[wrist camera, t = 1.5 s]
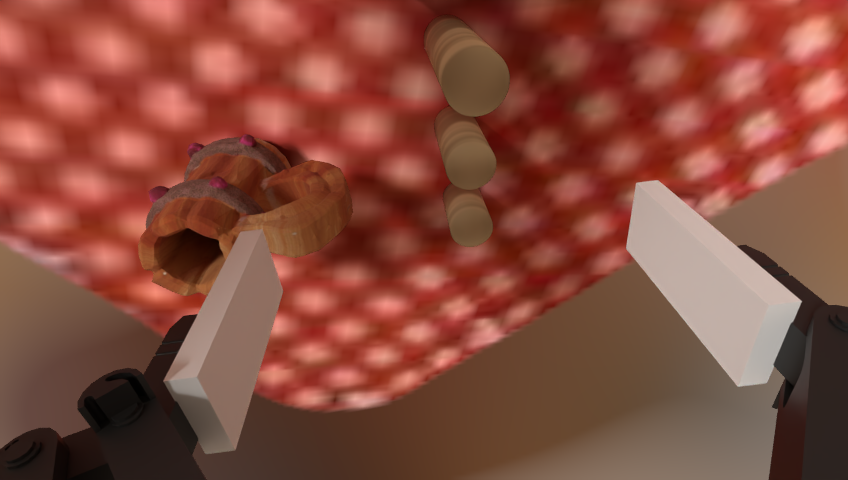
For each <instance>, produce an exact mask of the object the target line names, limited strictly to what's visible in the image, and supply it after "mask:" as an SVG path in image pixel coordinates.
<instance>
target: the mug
mask: <svg viewBox="0 0 848 480" xmlns="http://www.w3.org/2000/svg"><path fill="white" fill-rule="evenodd" d="M187 152H188V155H189V156H190V158H191V160H190V162H189V164H188V166H187V169H186V172H185V180H184V182H182V183H180V184H178V185H175V186H173V187H172V188H170V189H169V188H166V187H163V186H158V187H155V188H153V189H151V190H150V191H149V195H150V200H151V201H152V202H153V205H152V208H151V210H150V212H149V214H148V216H147V220H146V230H145V232H144V233H143V234H142V236H141V238H140V241H139V244H138V249H139V258H140V261H141V264H142V267H143V268H144V269H145V270H151V271H152V272H153V274H154V275H153V280H152V282H153V283H156V284H158V285H160V286H162V287H164V288H166V289H168V290H170V291H172V292H175V293H178V294H180V295H185V296H189V295H192V294H195V293H197V292H200V293H203V294H205V295H207V296H208V294H209V292H210V290H211V288H212V286H213V284H214V282H215V280H216V278H217V276H218V274H219V272H220V270H221V269H222V267H223V265H224V263H225V261H226V259H227V257H228V255H229V253H230V251H231V249H232V247H233V245H234V243H235V241H236V240H237V238H238V236H239V234H240V232H243V231H251V230H259V229H263V232H264V235H265V238H266V241H267V244H268V247H269V250H270V253H275V254H279V255H284V256H287V257H294V258H296V257H300V256H304V255H307V254H310V253H313V252H315V251H319V250H320V249H321V248H322V247H324V246H325V245H326V244H328V243H329V242H330V241H331V240H332V239H333V238H334V237H335V236H336V235H338V234H339V233H340V232H341V231H342V230H343V228H344V227H345V226H346V224H347V223H348V221H349V220H350V218H351V215H352V213H353V209H352V199H351V196H350V192H349V189H348V186H347V182H346V179H345V177H344V175H343V173H342V172H341V170H340V168H338V167H336V166H334V165H331V164H329V163H325V162H320V161H314V160H310V161H307V162H304V163H301V164H299V165H297V166H294V167H292V168H291V166H290V164H289V162H288V160H287V159H286V157H285V156H284V155H283V154H282V153H281V152H280V151H279V150H278V149H277V148H276V147H274V146H273V145H271V144H270V143H268V142H266V141H263V140H261V139H256V138H254V137H252V136H251V135H247V134H245V135H243V136H242V137H237V138H227V139H221V140H218V141H214V142H212V143H211V144H209V145H206V146H203V145H201V144H198V143H193V144H191V145H189V148H188V151H187Z"/></svg>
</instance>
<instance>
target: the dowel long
mask: <svg viewBox="0 0 848 480" xmlns="http://www.w3.org/2000/svg"><path fill="white" fill-rule="evenodd" d="M424 47H425V50H426V52H427V54H428V57H429V59H430V62H431V64H432V66H433V69H434V71H435V74H436V76H437V78H438V81H439V83H440V86H441V88H442V90H443V93H444V95H445V98H446V100H447V102H448V103H449V105H450V106H451V107H452V108H453V109H454V110H455V111H457V112H458V113H460V114H462V115H465V116H471V117H476V116H482V115H485V114H488V113H490V112H492V111H493V110H495V109H496V108H497V107H498V106H499V105H500V104H501V103H502V101H503V100H504V98H505V97H506V94H507V92H508V89H509V84H510V75H509V70H508V67H507V65H506V63H505V61H504V60H503V59H502V57H501V56H500V55H499V54H498V53H496V52H495V51H494V50H493V49H492V48H491V47H490V46H489V45H488V44H487V43H486V42H485V41H483V40H482V39H481V38H480V37H479V36H478V35H477V34H476V33H475V32H474V31H473V30H471V29H470V28H469V27H468V26H467V25H466V24H465V23H464V22H463V21H462V20H461V19H459V18H458V17H456V16H453V15H441V16H439V17H437V18H435V19H434V20H432V21H431V22H430V24H429V25H428V26H427V28H426V30H425V34H424Z"/></svg>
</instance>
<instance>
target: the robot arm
mask: <svg viewBox="0 0 848 480" xmlns="http://www.w3.org/2000/svg"><path fill="white" fill-rule="evenodd" d="M626 249H627V250H628V251H629V253H630V254H631V255H632V256H633V258H634V259H635V260H636V261H637V263H638V264H639V265H640V266H641V268H642V269H643V270H644V271H645V272H646V274H647V275H648V276H649V277H650V278H651V280H652V281H653V282H654V283H655V285H656V286H657V287H658V289H659V290H660V291H661V292H662V294H663V295H664V296H665V297H666V299H667V300H668V301H669V302H670V303H671V305H672V306H673V307H674V308H675V309H676V311H677V312H678V313H679V315H680V316H681V317H682V318H683V319H684V321H685V322H686V323H687V324H688V326H689V327H690V328H691V329H692V330H693V332H694V333H695V334H696V335H697V337H698V338H699V339H700V341H701V342H702V343H703V344H704V345H705V347H706V348H707V349H708V350H709V352H710V353H711V354H712V355H713V357H714V358H715V359H716V360H717V362H718V363H719V364H720V365H721V366H722V368H723V369H724V370H725V372H726V373H727V374H728V375H729V376H730V378H731V379H732V380H733V381H734V383H735V384H736V385H737V386H738V387H741V386H748V385H756V384H764V383H767V382H768V380H769V377H770V375H771V373H772V370H773V368H774V366H775V367H776V368H777V370H778V371H779V372H780V373H781V374H782V375H783V376H784V377H785V380H784V382H783V384H782V386H781V388H780V391H779V393H778V395H777V397H776V399H775V402H774V404H773V406H772V407H773V408H775V409H778V413H777V420H776V429H775V436H774V444H773V451H772V459H771V466H770V474H769V480H848V307H845V306H839V305H828V304H827V303H825V302H824V301H823V300H822V299H820V298H819V297H818V296H817V295H815V294H814V293H813V292H812V291H810V290H809V289H808V288H806V287H805V286H804V285H803V284H802V283H800V282H799V281H798V280H796V279H795V278H794V277H793V276H789V273H788V272H787V271H785V270H784V269H783V268H781V267H778V264H777V263H775V262H774V261H773V260H772V259H770V258H769V257H767V255H765V254H764V253H762V252H760V251H757V250H755V249H753V248H751V247H748V246H747V245H740V246H736V245H734V244H733V243H732V242H731V241H730V240H728V239H727V238H726V237H725V236H724V235H723V234H721V233H720V232H719V231H718V230H717V229H715V228H714V227H713V226H712V225H711V224H710V223H708V222H707V221H706V220H705V219H704V218H702V217H701V216H700V215H699V214H698V213H696V212H695V211H694V210H693V209H692V208H690V207H689V206H688V205H687V204H686V203H685V202H683V201H682V200H681V199H680V198H679V197H677V196H676V195H675V194H674V193H673V192H671V191H670V190H669V189H668V188H667V187H666V186H664V185H663V184H662V183H661V182H660V181H658V180H655V181H647V182H639V183H636V188H635V194H634V201H633V207H632V213H631V220H630V226H629V233H628V239H627V246H626ZM282 294H283V289H282V286H281V283H280V280H279V277H278V274H277V271H276V268H275V265H274V262H273V259H272V256H271V253H270V250H269V247H268V244H267V241H266V238H265V235H264V232H263V229H259V230H251V231H243V232H240V234H239V236H238V238H237V240H236V241H235V243H234V245H233V247H232V249H231V251H230V253H229V255H228V257H227V259H226V261H225V263H224V265H223V267H222V269H221V270H220V272H219V274H218V276H217V278H216V280H215V282H214V284H213V286H212V288H211V290H210V292H209V294H208V296H207V298H206V300H205V301H204V303H203V305H202V307H201V309H200V311H199V313H198V314H195V315H187V316H183V317H182V318H181V319H180V320H179V321H177V322H176V323H175V324H174V325H173V326H172V327H171V328H170V329H169V331H168V333H167V334H166V336H165V338H164V340H163V341H162V345H160V347H159V348H158V350H157V352H156V356H154V357H153V359H152V361H151V362H150V364H149V366H148V368H147V369H146V371H145V373H144V375H143V374H142V373H141V372H139V371H138V370H137V369H131V368H125V369H120V370H116V371H113V372H111V373H108V374H106V375H104V376H102V377H101V378H99V379H98V380H96V381H95V382H93V383H92V384H91V385H90V386H89V387H88V388H87V389H86V390H85V391H84V392H83V393H82V395H81V397H80V398H79V400H78V410H79V412H80V413H81V414H82V416H83V417H84V418H85V420H86V421H87V422H88V423H89V425H90V426H91V427H90V428H88V429H85V430H82V431H80V432H77V433H74V434H72V435H69V436H66V437H63V438H61V437H60V436H59V434H58V433H57V432H56V431H54V430H53V429H51V428H38V429H35V430H31V431H28V432H26V433H24V434H22V435H20V436H18V437H17V438H15V439H13V440H12V441H10V442H9V443H8V444H6V445H5V446H4V447H3V448H1V449H0V480H207V479H206V477H205V476H204V474H203V473H202V471H201V469H200V468H199V466H198V465H197V463H196V461H195V460H194V458H193V456H192V454H193V452H194V449H195V446H196V444H197V441H198V442H199V443H200V444H201V447H202V448H203V450H204V452H205V454H210V453H218V452H225V451H234V450H235V449H236V446H237V443H238V440H239V436H240V433H241V430H242V426H243V423H244V420H245V416H246V413H247V410H248V406H249V403H250V399H251V396H252V393H253V390H254V387H255V383H256V380H257V377H258V373H259V370H260V367H261V363H262V360H263V357H264V353H265V350H266V347H267V343H268V340H269V337H270V333H271V330H272V327H273V323H274V320H275V317H276V313H277V310H278V307H279V303H280V300H281V297H282Z"/></svg>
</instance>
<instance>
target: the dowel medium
mask: <svg viewBox="0 0 848 480" xmlns="http://www.w3.org/2000/svg"><path fill="white" fill-rule="evenodd" d="M434 130H435V134H436V138H437V141H438V145H439V148H440V152H441V156H442V159H443V163H444V166H445V170H446V174H447V176H448V178H449V180H450V181H451V182H452V184H454V185H455V186H457V187H459V188H461V189H466V190H472V189H477V188H480V187H482V186H484V185H485V184H486V183H488V182H489V181H490V180H491V178H492V177H493V175H494V173H495V170H496V158H495V155H494V153H493V151H492V149H491V148H490V146H489V144H488V142H487V140H486V138H485V136H484V134H483V133H482V131H481V129H480V127H479V125H478V123H477V121H476V119H475V118H474V117H471V116H465V115H462V114H460V113H458V112H457V111H455V110H454V109H453V108H452V107H451V106H448V107H446V108H444V109H443V110H441V111H440V112H439V114H438V115H437V117H436V119H435V123H434Z"/></svg>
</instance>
